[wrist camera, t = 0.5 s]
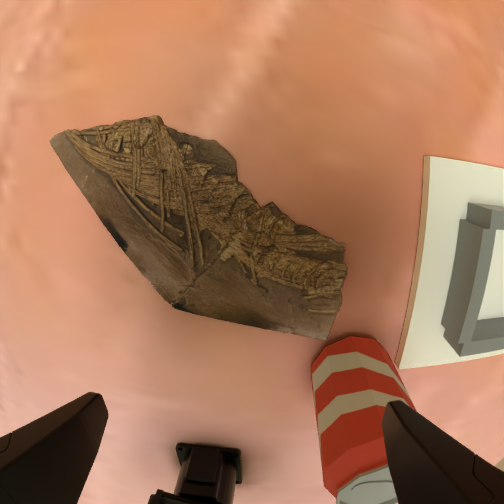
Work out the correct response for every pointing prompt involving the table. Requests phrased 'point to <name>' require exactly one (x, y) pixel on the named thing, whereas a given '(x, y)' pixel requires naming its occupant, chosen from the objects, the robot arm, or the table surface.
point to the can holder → (456, 267)
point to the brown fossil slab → (204, 228)
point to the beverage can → (355, 419)
